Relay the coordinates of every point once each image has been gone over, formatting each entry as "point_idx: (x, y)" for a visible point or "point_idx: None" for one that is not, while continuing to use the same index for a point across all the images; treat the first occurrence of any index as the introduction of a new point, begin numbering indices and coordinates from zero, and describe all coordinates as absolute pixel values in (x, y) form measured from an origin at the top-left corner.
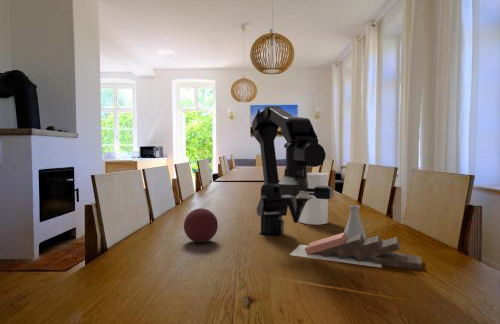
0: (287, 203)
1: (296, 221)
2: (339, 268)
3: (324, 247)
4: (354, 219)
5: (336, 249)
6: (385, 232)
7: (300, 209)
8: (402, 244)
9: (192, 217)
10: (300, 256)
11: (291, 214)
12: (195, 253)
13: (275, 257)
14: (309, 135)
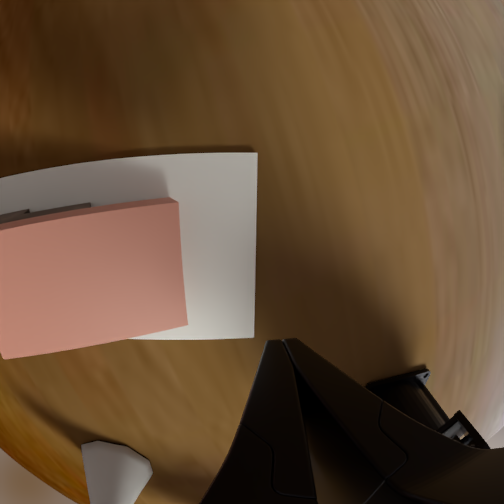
0: (473, 452)
1: (273, 345)
2: (20, 114)
3: (63, 213)
4: (100, 501)
5: (17, 217)
6: (85, 486)
7: (231, 451)
8: (8, 421)
9: None
10: (194, 153)
11: (350, 377)
12: None
13: (318, 113)
14: None
